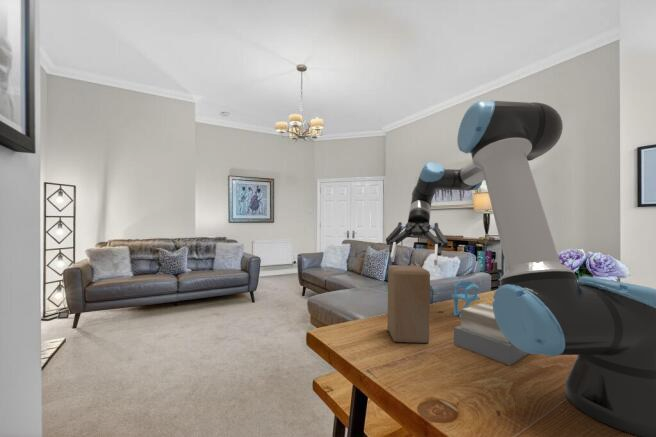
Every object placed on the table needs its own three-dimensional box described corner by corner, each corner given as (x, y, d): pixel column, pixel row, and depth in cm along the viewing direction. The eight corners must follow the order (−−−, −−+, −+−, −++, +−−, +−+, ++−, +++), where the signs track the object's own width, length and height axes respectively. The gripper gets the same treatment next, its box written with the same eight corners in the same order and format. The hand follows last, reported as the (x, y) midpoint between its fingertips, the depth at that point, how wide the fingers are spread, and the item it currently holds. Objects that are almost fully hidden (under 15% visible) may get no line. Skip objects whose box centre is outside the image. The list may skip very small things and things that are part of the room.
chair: (448, 313, 106) (448, 280, 106) (464, 310, 109) (465, 279, 109) (465, 320, 99) (466, 285, 99) (483, 317, 102) (483, 283, 102)
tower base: (509, 367, 68) (510, 346, 68) (453, 345, 79) (454, 327, 79) (533, 352, 76) (533, 333, 76) (479, 334, 87) (479, 318, 88)
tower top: (508, 343, 70) (508, 322, 70) (460, 327, 79) (461, 309, 79) (529, 332, 76) (529, 314, 76) (483, 319, 86) (483, 302, 86)
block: (430, 344, 79) (431, 271, 79) (393, 343, 79) (394, 270, 79) (419, 330, 89) (420, 265, 89) (386, 329, 89) (387, 264, 89)
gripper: (455, 223, 105) (455, 271, 91) (387, 222, 115) (377, 264, 101) (456, 208, 100) (455, 256, 86) (384, 208, 110) (373, 251, 97)
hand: (413, 261), depth 94 cm, fingers open, 13 cm apart
